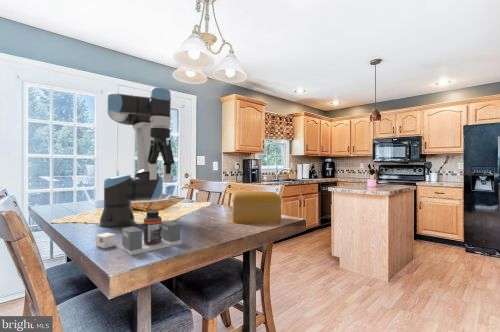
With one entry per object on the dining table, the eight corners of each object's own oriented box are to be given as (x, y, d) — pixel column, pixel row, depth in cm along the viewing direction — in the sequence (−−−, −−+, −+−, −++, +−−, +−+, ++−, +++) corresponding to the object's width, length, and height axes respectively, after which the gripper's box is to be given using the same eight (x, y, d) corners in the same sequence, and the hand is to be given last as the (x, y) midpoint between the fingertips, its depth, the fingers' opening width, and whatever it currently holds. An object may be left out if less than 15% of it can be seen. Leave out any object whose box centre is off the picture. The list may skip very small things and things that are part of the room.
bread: (233, 223, 130) (233, 193, 130) (232, 218, 142) (232, 190, 142) (281, 222, 132) (281, 193, 132) (276, 217, 145) (276, 190, 145)
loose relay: (96, 246, 93) (96, 235, 93) (107, 243, 96) (107, 232, 96) (104, 248, 90) (104, 237, 90) (115, 245, 94) (115, 234, 94)
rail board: (120, 247, 91) (120, 227, 91) (169, 237, 103) (169, 220, 103) (130, 255, 84) (130, 233, 84) (182, 243, 96) (182, 224, 96)
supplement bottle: (143, 241, 95) (143, 210, 95) (160, 239, 98) (160, 209, 98) (143, 246, 90) (144, 213, 90) (162, 244, 92) (162, 212, 92)
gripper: (139, 129, 111) (139, 178, 112) (164, 124, 93) (163, 184, 94) (157, 130, 116) (156, 178, 117) (183, 126, 98) (183, 183, 99)
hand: (159, 180), depth 105 cm, fingers open, 13 cm apart
